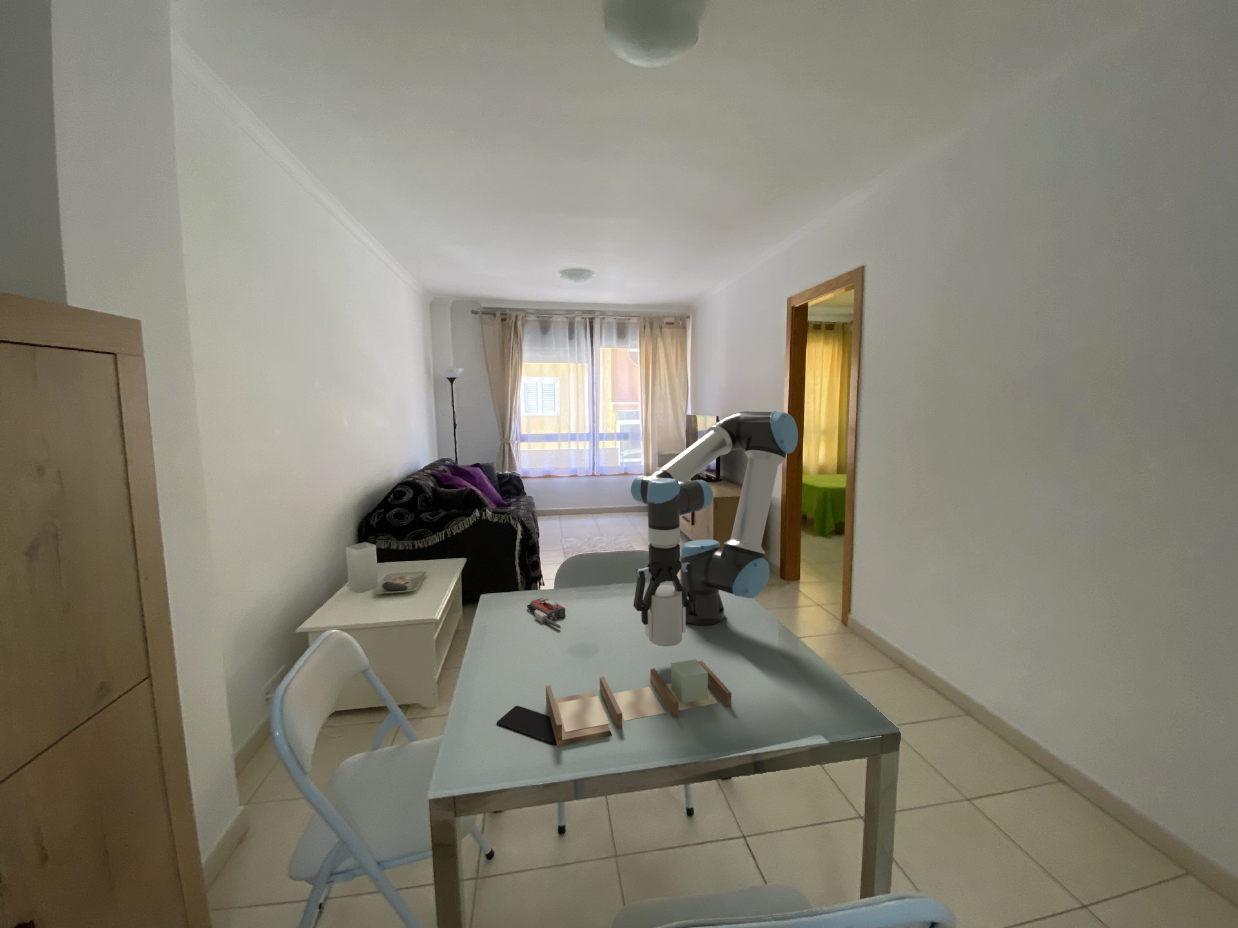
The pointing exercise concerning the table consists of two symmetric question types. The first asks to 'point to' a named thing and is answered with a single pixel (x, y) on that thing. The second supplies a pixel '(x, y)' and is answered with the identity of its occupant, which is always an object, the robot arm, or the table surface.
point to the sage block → (689, 681)
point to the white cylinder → (666, 616)
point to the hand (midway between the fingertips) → (665, 632)
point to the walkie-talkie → (546, 610)
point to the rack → (619, 707)
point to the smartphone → (529, 724)
